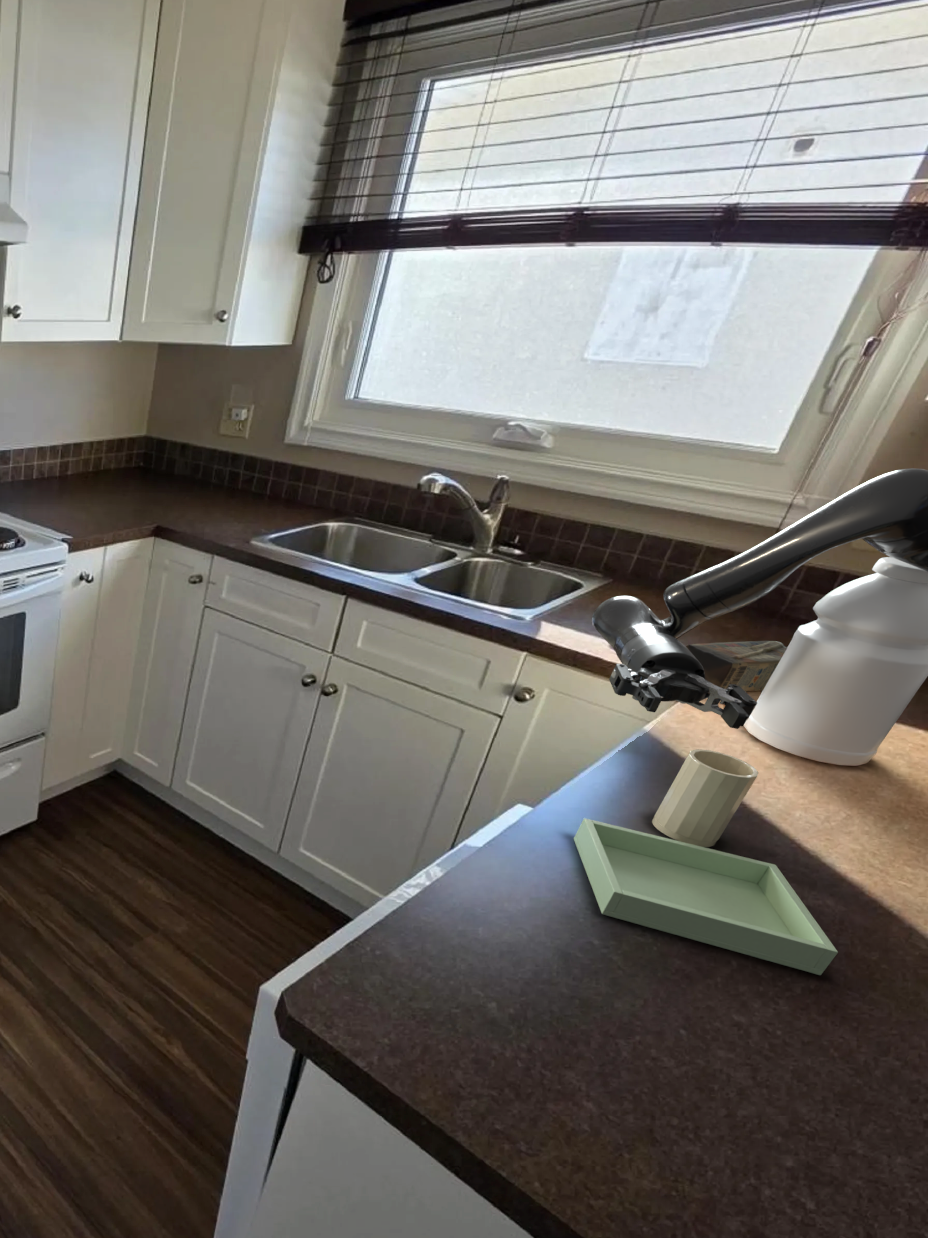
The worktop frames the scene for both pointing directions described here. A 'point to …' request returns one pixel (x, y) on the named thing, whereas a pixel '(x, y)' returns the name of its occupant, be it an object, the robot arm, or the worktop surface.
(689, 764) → the cup
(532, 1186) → the worktop surface
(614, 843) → the tray
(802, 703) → the bottle
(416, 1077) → the worktop surface
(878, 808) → the worktop surface
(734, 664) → the beverage carton
